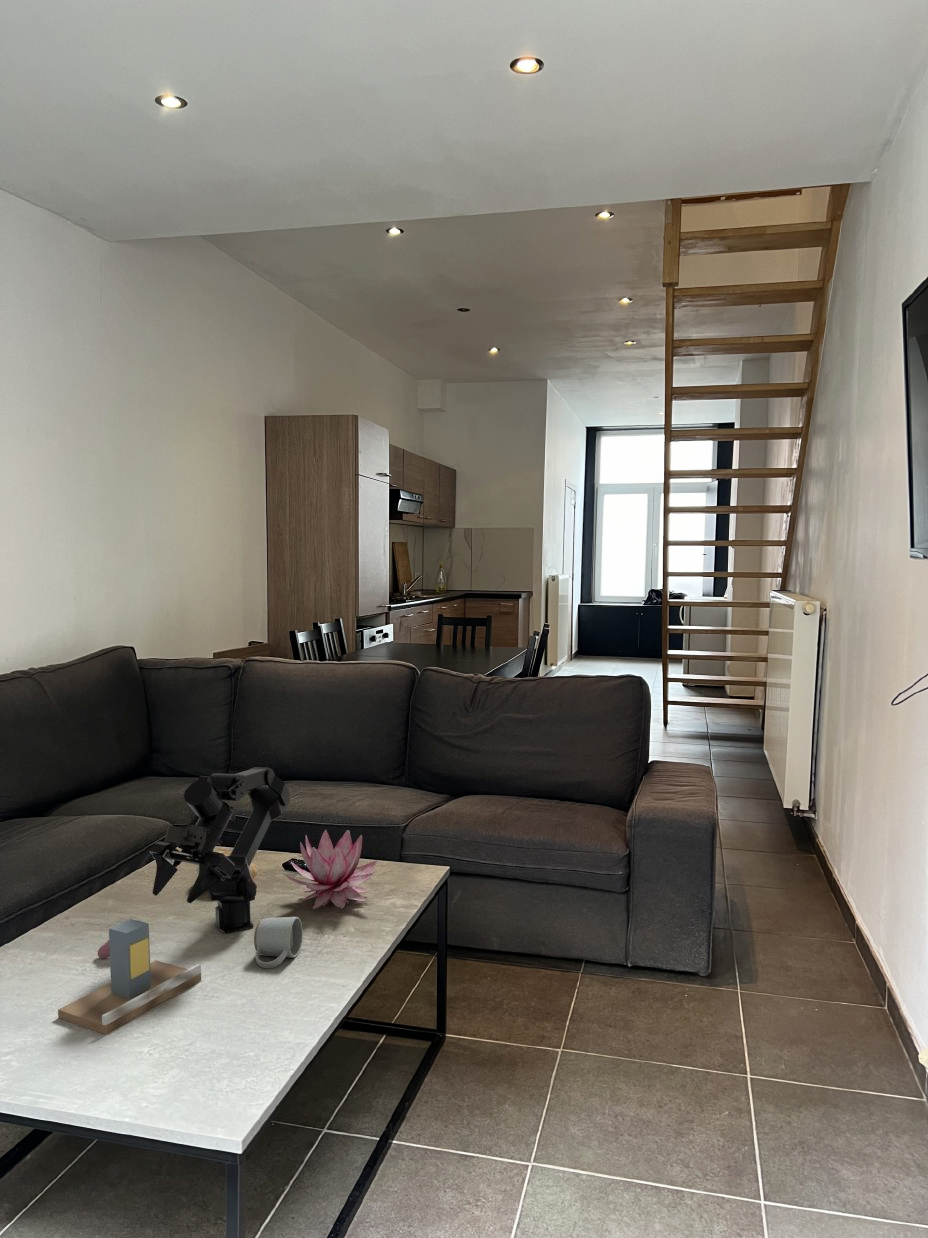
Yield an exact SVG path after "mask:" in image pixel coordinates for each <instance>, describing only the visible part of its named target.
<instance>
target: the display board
mask: <svg viewBox="0 0 928 1238" xmlns="http://www.w3.org/2000/svg"><path fill="white" fill-rule="evenodd" d="M201 967H202V966H201V964H200V963H197V964H195V965H194V966H192V967H189V968H185V967H183V966H182V967H181V966H178V965H174V964H171V963H167V962H163V961H160V960H156V959H155V960H154V961H152V962H150V974H151V987H150V988H148V989H147V990H145V991H143V992H141V993H139V994H137V995H135V996H133V997H132V998H130V999H128V998H125V997H122V996H118V995H115V994H112V993H111V982H110V983H108V984H106V985H103V986H102V987H101V988H98V989H96V990H94V991H93V992H91V993H88V994H86V995H84V996H82V997H80V998H78V999H76V1000H75V1001H73V1002H70V1003H68V1004H66V1005H64V1006H62V1007H60V1008H58V1009H57V1017H58V1019H60V1020H63V1021H66V1022H69V1023H72V1024H75V1025H78V1026H81V1027H83V1028H87V1029H89V1030H92V1031H95V1032H98V1033H100V1034H104V1035H106V1034H108V1033H110V1032H112V1031H113V1030H115V1029H117V1028H119V1027H121V1026H123V1025H124V1024H127V1023H128V1022H130V1021H132V1020H133V1019H135V1018H137V1017H139V1016H140V1015H143V1014H144V1013H146V1012H148V1011H150V1010H151V1009H153V1008H155V1007H157V1006H159V1005H161V1004H162V1003H164V1002H166V1001H167V1000H169V999H171V998H172V997H175V996H176V995H178V994H180V993H182V992H183V991H186V989H189V988H190V987H192V986H194V985H196V984H198V983H199V982H201V981H202V968H201Z"/></svg>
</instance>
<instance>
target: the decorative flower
mask: <svg viewBox="0 0 928 1238" xmlns="http://www.w3.org/2000/svg"><path fill="white" fill-rule="evenodd" d="M299 846H300V853H301V857H302V859H303V862H304V864H305V865H306V868H307V869H308V870H309V872H308V871H307V870H305V869H303V868H301V867H299V866H298V865H297V864H296V863H294V862H292V861H290V865H292V866H293V868H294V869H295V870H296V872H297V873H299V875H301V877H303V878H305V879H307V880H309V881H310V882H307V881H303V880H298V879H296V878H293V877H292V876H289V875H287V874H284V876H285V877H286V878H288V879H289V880H290V881H293V882H295V883H296V884H299V885H304V886H305V888H306V889H308V890H301V892H302V893H304V894H305V893H306V894H307V893H311V892H312V893H311V894H309V895H308V896H305V897H304V898H301V899H299V900H297V902H306V901H309V900H311V899H312V898H315V897H316V900H315V902H314V905H313V907H312V910H313V909H314V910H315V909H317V908H319V907H321V906H322V908H324V907H326V905H327V904H329V902H330V901H331V903H332V904H333V905H334V906H335V907H336V908H341V909H343V908H344V907H345V905H346V904H350V903H349V900H352V901H353V900H355V901H361V902H362V901H363V902H364V901H366V898H365V897H364V896H363V895H361V894H360V893H363V892H367V891H369V889H368V888H363V887H359V886H360V885H361V884H363V883H365V882H366V881H368V880H370V878H372V876H373V875H375V874H376V872H375V871H374V872H372V871H373V870H374V868H375V866H376V865H377V864H378V862H379V859H377V860H374V861H371V862H369V863H365V864H363V865H360V866H358V865H359V862H360V857H361V854H362V849H363V848H362V847H363V835H362V834H360V835H359V837H358V838H357V839H356V840H355V842H354V843H353V841H352V836H351V831H350V830H348V829H347V830H346V831H345V832H344V834H343V835H342V836H341V837H340V839H339V840H338V841H337V843H336V845H335V847H334V845H333V843H332V840H331V837H330V834H329V833H328V831H327V829H325V830H324V831H323V833H322V835H321V838H320V841H319V844H318V846H317V847H318V848H316V847H314V846H313V847H312V845H311V843H310V841H309V838H308V836H307V834H305V846H304V844H303V843H302V842H301V841H300V842H299ZM371 872H372V873H371Z"/></svg>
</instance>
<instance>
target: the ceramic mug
mask: <svg viewBox="0 0 928 1238" xmlns="http://www.w3.org/2000/svg"><path fill="white" fill-rule="evenodd" d="M302 924H303V923H302V921H301V919H300V918H299V917H298V916H286V917H283V916H282V917H266V918H262V919H261V920H259V922H258V923H256V926H255V929H254V934H253V945H254V949H255V960H256V963H257V965H258V966H259V967H261V968H262V969H273V968H276V967H277V966H279V965H280V964H282V963H283V961H284V960H285V959H286V958H289V959H290V958H296V957H298V956H299V953H300V951H301V948H302V943H303V933H304V932H303V925H302ZM260 956H264V957H265V956H266V957H276V958H275V959H274V960H272V961H268V962H267V961H262V960H261V959H260Z"/></svg>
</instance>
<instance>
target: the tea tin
mask: <svg viewBox="0 0 928 1238" xmlns="http://www.w3.org/2000/svg"><path fill="white" fill-rule="evenodd" d="M134 919H135V918H130V919H128V920H126V921H122V922H120V923H119V924H116V925H114V926H111V927H109V928H108V935H109V936H108V940H109V945H110V957H109V965H110V966H109V967H110V969H109V971H110V983H111V993H112V994H115V995H118V996H122V997H125V998H128V999H130V998H132V997H133V996H135V995H137V994H139V993H141V992H143V991H145V990H147V989H148V988H150V987H151V974H150V963H151V953H150V952H151V950H150V949H151V948H150V925H149V924H150V923H149V922H145V921H141V920H138V919H135V920H134Z"/></svg>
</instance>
